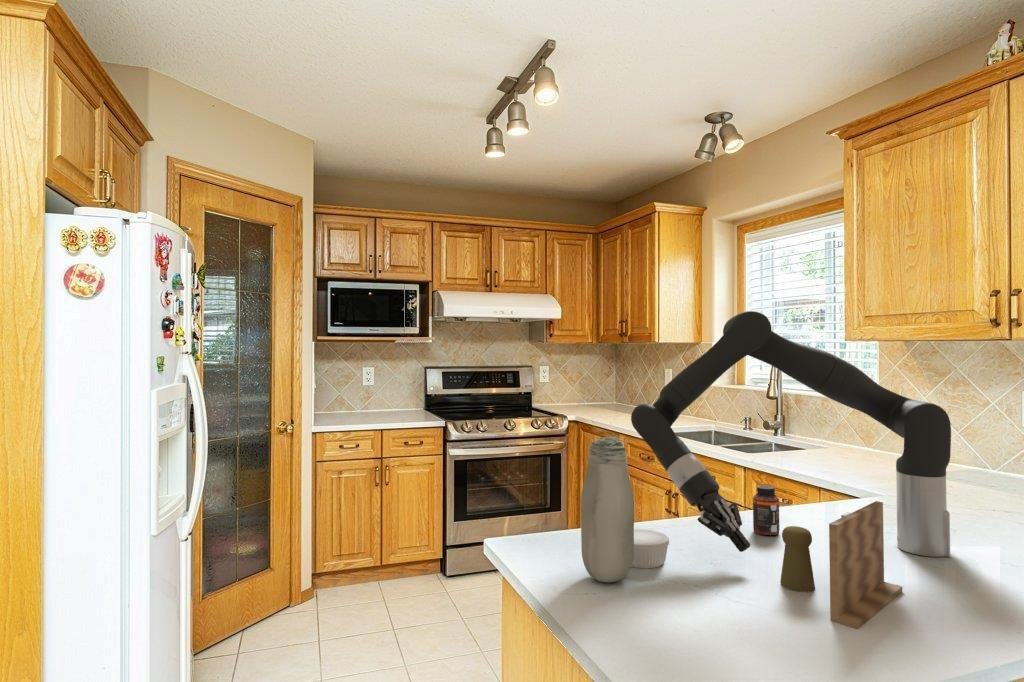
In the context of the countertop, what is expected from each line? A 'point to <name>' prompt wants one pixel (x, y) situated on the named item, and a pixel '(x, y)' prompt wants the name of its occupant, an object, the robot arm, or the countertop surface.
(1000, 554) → the countertop surface
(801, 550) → the olive pawn figure
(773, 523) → the supplement bottle
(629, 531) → the grey bottle
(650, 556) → the ramekin
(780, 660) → the countertop surface
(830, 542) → the shelf wall
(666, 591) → the countertop surface
